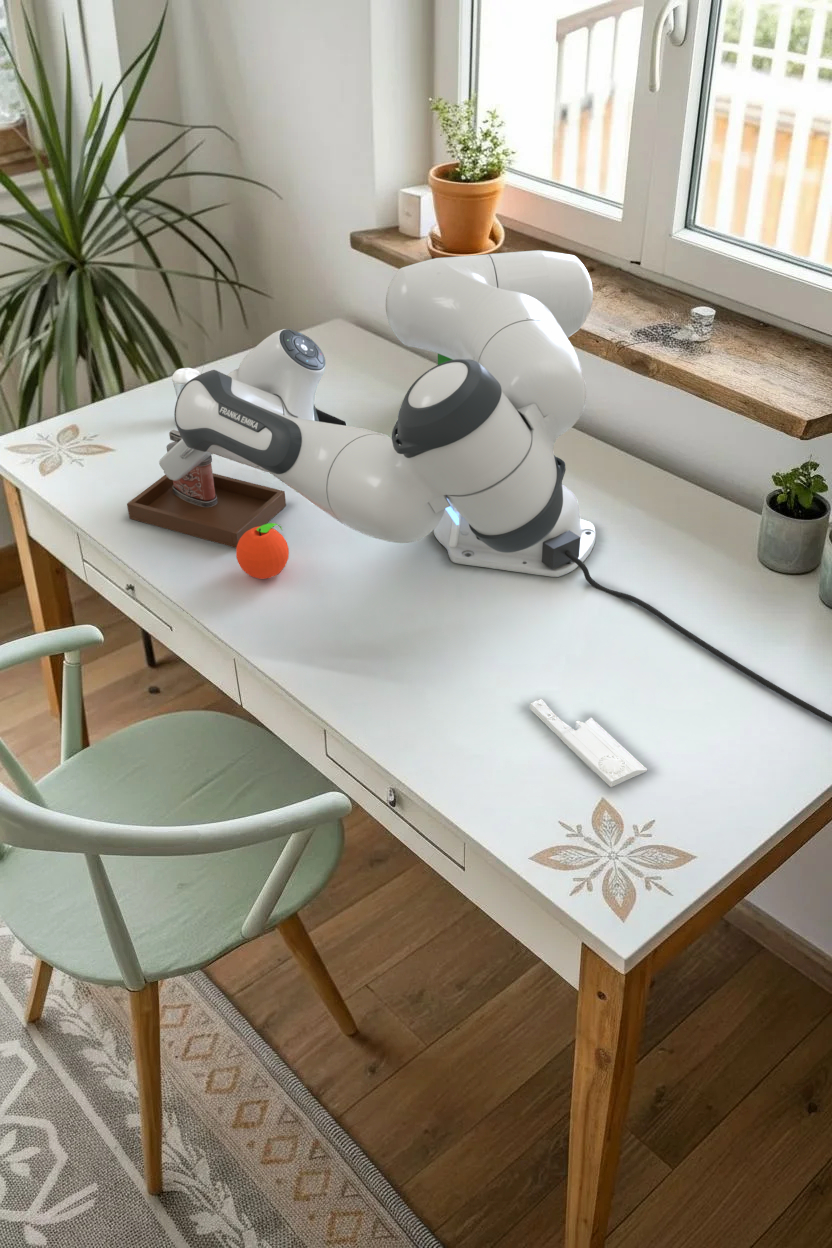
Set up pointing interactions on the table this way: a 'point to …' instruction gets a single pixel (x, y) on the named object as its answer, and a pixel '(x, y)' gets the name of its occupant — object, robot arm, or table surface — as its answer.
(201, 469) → the lighter
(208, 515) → the tray
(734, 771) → the table surface
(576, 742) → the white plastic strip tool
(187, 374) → the milkshake
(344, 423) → the electric trimmer
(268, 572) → the clementine
